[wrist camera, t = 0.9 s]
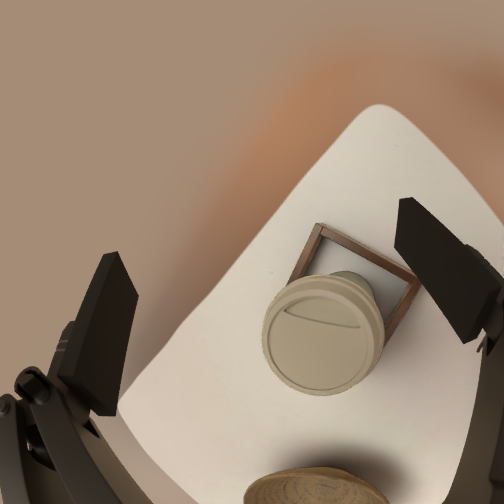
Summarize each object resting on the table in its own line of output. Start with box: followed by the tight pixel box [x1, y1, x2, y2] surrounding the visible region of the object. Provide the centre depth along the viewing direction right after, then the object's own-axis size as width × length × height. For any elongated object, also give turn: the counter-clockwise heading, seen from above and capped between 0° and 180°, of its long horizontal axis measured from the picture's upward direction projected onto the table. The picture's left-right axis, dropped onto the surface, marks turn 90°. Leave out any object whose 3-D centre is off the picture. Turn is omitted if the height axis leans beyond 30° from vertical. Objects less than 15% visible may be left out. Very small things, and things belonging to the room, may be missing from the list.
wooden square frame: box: [286, 223, 422, 348], centre depth 28 cm, size 11×11×2 cm
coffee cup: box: [262, 271, 385, 396], centre depth 24 cm, size 9×9×12 cm
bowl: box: [244, 467, 390, 504], centre depth 28 cm, size 18×18×8 cm
